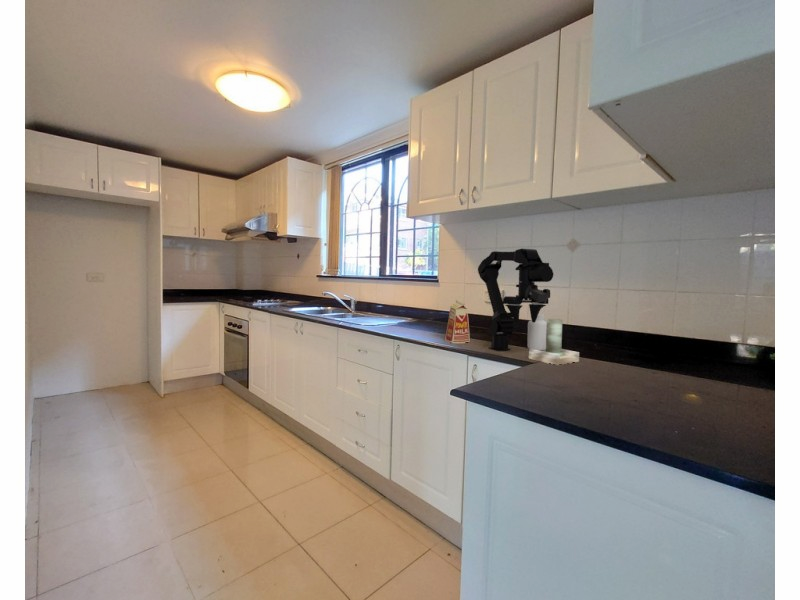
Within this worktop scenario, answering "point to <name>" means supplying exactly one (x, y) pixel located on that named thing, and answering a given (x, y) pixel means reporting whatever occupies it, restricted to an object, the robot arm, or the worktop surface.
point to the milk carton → (458, 324)
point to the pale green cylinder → (554, 336)
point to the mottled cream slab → (554, 356)
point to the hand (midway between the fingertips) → (525, 322)
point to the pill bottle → (537, 333)
